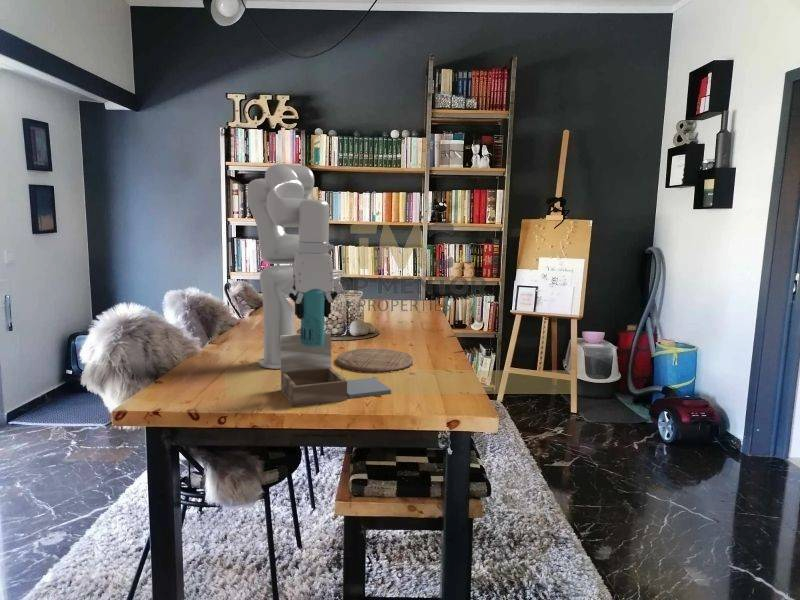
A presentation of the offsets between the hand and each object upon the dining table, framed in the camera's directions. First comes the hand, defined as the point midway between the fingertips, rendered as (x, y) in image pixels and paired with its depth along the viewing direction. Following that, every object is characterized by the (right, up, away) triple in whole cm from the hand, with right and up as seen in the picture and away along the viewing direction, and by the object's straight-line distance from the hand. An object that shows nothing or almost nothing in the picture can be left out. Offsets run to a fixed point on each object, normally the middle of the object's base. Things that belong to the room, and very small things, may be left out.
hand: (312, 316), depth 137 cm
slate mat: (+12, -20, +8) cm, 25 cm away
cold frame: (0, -21, +3) cm, 21 cm away
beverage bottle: (0, -9, +1) cm, 9 cm away
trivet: (+14, -17, +37) cm, 43 cm away
